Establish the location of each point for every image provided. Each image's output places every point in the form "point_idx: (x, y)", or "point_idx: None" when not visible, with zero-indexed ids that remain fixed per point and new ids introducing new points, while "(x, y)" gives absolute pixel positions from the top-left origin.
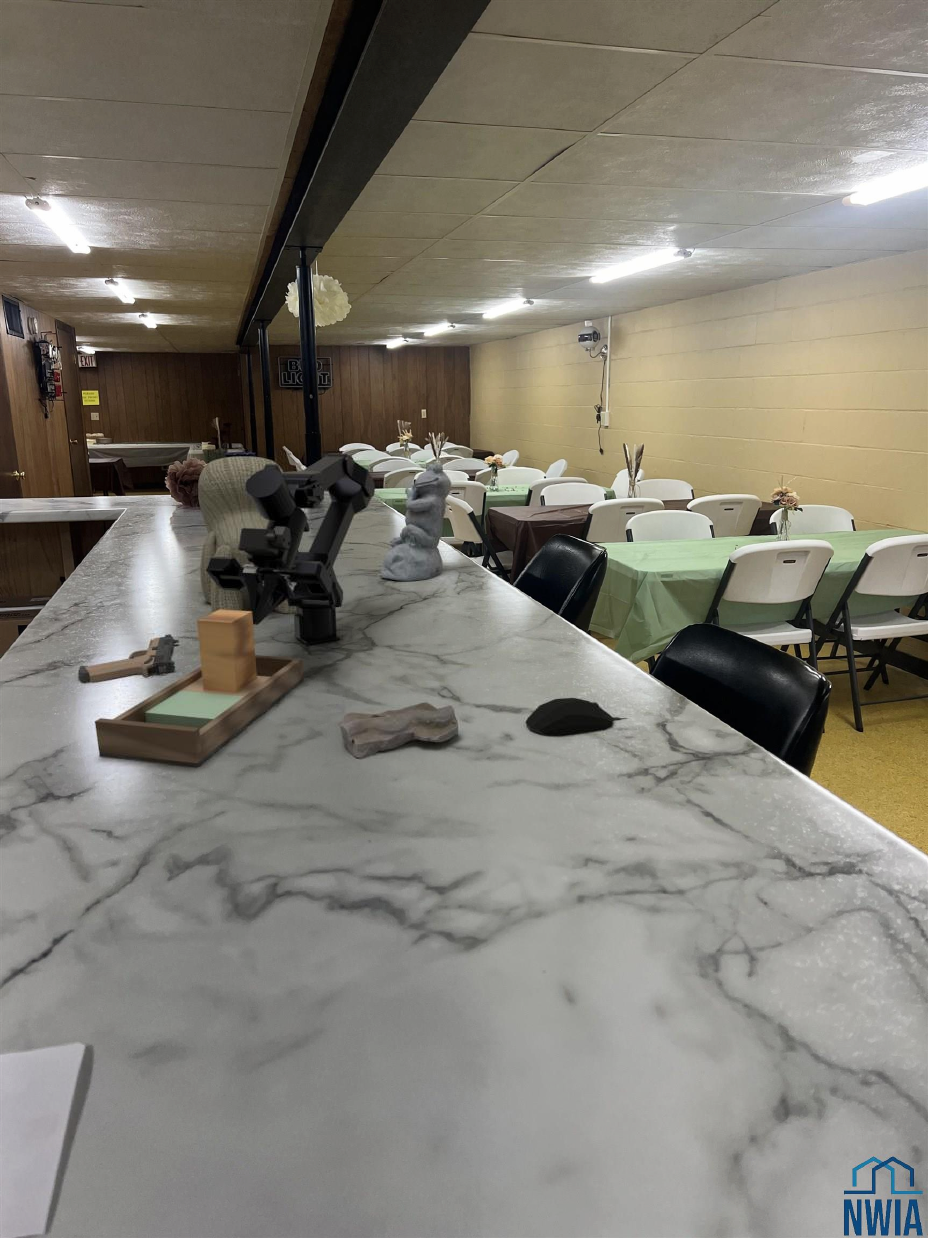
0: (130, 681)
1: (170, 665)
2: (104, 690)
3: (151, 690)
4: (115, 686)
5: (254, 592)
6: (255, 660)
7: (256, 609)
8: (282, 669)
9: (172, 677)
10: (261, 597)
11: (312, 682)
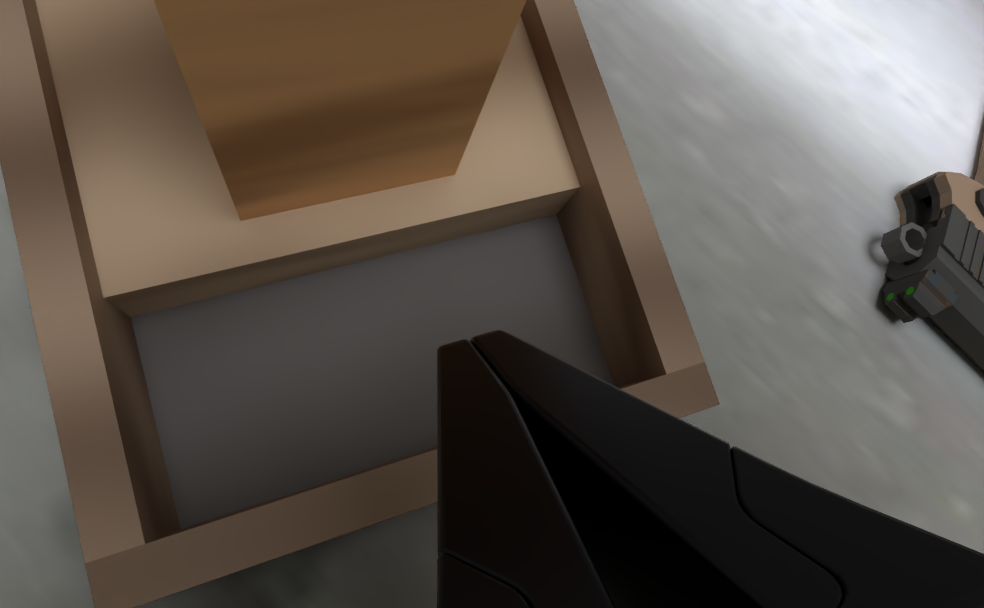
0: (910, 126)
1: (909, 280)
2: (893, 10)
3: (749, 81)
4: (902, 58)
5: (785, 567)
6: (222, 171)
7: (514, 416)
8: (80, 324)
9: (820, 245)
10: (564, 562)
11: (64, 593)
